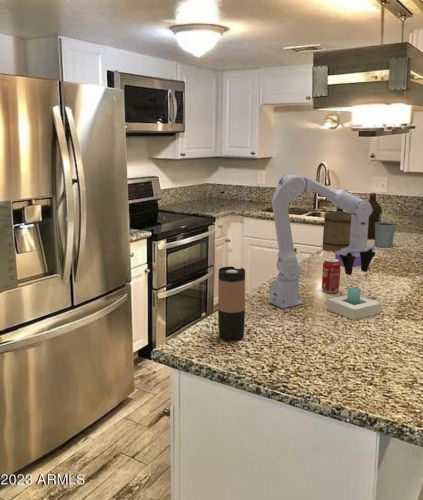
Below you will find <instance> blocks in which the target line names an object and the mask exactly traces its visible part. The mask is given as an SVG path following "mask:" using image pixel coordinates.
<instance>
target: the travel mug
mask: <svg viewBox="0 0 423 500" xmlns="http://www.w3.org/2000/svg"><path fill="white" fill-rule="evenodd" d="M217 278H218V284H217V286H218V287H217V288H218V289H217V290H218V291H217V294H218V297H217V300H218V302H217V311H218V312H217V314H218V315H217V317H218V336H219V337H218V338H219V339H220V340H222V341H225V342H238V341H239V342H240V341H241V340H243V339H244V335H245V319H246V318H245V316H246V314H245V313H246V269H245V268H244V267H240V268H236V267H234V266H231V265H230V266H224V267H220V268H219V269H218V277H217Z"/></svg>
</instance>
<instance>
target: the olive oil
mask: <svg viewBox="0 0 423 500" xmlns="http://www.w3.org/2000/svg"><path fill="white" fill-rule="evenodd" d="M367 201H368V202H369V203H370V204H371V207H372V209H373V211H372V213H371V215H370V216H369V222H368V236H367V240H375V223H377V222H382V216H383V215H382V213H383V209H382V206H381V205H380V203H378V201H377V193H375V192H370V193H369V200H367Z"/></svg>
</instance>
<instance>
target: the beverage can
mask: <svg viewBox="0 0 423 500" xmlns="http://www.w3.org/2000/svg"><path fill="white" fill-rule="evenodd" d="M341 267H342V266H341V264H340V262H339V260H338V259H335V257H334V258H332V257H331V258H330V257H329V258H328V257H327V258H325V259H324V261H323V263H322V272H321V273H322V277H321V278H322V280H321V290H323V292H324V293H327V294H336V293H337V292H338V291H339V290H340V283H341V281H340V280H341Z"/></svg>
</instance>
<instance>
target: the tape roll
mask: <svg viewBox="0 0 423 500" xmlns="http://www.w3.org/2000/svg"><path fill="white" fill-rule="evenodd" d="M340 252H341V251H337V252H335V255H334V259H338V260H339V262H340V264H341V267H344V264H343V261H342V259H341V257H340ZM351 255H352V256H355V257H356V258H355V260H354V263H353V268H357V267H361V257H360V253H353V254H351Z"/></svg>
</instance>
